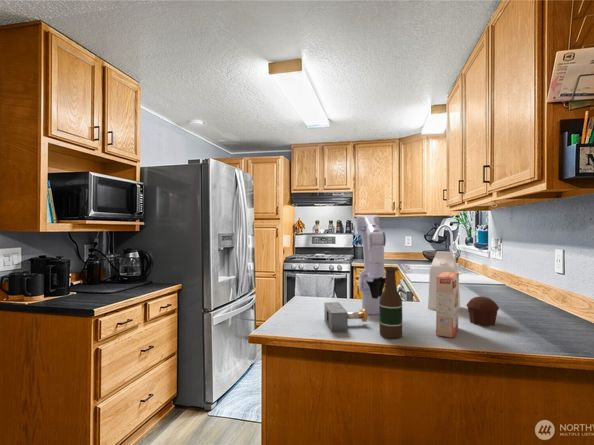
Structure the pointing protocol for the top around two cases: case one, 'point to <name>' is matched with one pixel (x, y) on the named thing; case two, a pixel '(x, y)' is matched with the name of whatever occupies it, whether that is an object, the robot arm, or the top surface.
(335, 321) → the block
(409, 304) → the top surface
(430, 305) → the milk
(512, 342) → the top surface
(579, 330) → the top surface
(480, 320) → the muffin
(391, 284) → the beer bottle
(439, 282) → the cracker box
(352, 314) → the pin
